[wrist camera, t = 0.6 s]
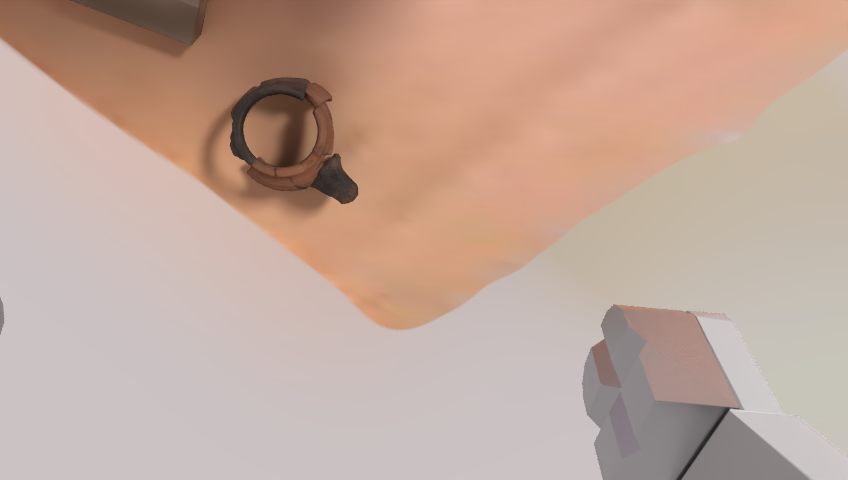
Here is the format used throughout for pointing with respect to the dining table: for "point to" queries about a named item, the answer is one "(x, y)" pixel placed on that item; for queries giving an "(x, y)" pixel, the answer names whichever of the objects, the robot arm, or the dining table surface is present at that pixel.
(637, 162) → the dining table surface
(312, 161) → the dark brown arched piece
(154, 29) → the seat plate
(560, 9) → the dining table surface
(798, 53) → the dining table surface
